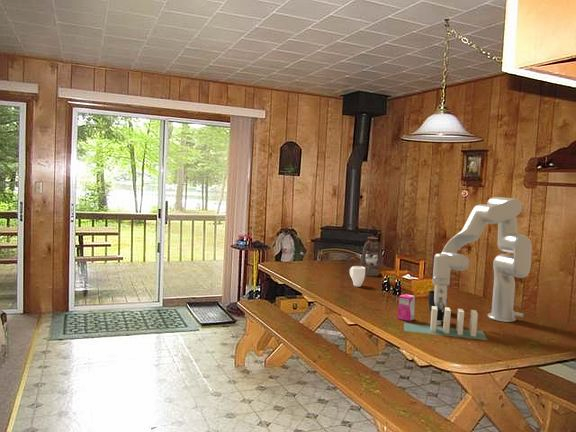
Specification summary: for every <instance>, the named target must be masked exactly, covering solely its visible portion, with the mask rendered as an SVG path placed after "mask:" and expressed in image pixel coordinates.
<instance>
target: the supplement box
mask: <svg viewBox="0 0 576 432" xmlns="http://www.w3.org/2000/svg"><path fill="white" fill-rule="evenodd" d="M415 304H416V296H415V295H412V294H411V295H410V294H407V293H404V294H401V295H398V306H397V307H398V308H397V309H398V311H397V320H400V321H405V322H407V323H408V322H412V321H414V320H415Z"/></svg>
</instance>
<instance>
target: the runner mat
mask: <svg viewBox="0 0 576 432" xmlns="http://www.w3.org/2000/svg"><path fill="white" fill-rule="evenodd" d="M469 330H470V329H464V328H463V335H458V334H457V332H456V327H455V328H453V327H450V328H449V334H448V333H444V331H443V326H436V332H431V329H430V325H427V324H426V325H425V324H419V323H418V324H417V323H408V322H403V332H410V333H418V334H429V335H436V336H446V337H455V338H464V339H465V338H466V339H474V340H483V341H488V338H487V337H486V335H485V333H484V332H483V331H482V330H477V331H476V336H471V335H470V333H469Z"/></svg>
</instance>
